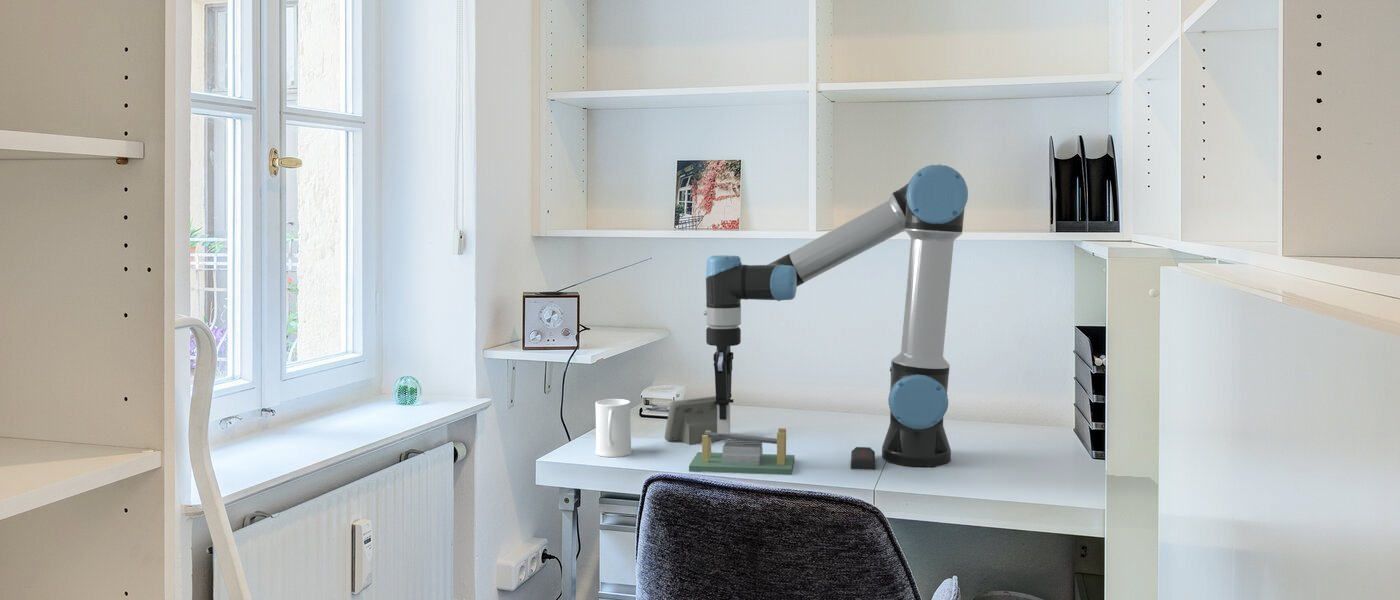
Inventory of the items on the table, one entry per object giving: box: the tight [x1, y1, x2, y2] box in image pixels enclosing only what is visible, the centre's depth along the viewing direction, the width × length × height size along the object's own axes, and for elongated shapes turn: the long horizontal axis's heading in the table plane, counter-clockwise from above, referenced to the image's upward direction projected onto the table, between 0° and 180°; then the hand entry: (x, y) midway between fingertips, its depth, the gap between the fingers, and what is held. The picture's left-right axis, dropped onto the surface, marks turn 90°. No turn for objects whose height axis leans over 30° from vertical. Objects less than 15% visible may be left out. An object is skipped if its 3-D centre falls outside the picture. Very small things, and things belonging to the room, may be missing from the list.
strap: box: [704, 432, 777, 445], centre depth 207 cm, size 18×3×1 cm, turn 81°
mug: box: [594, 398, 633, 458], centre depth 218 cm, size 12×8×12 cm
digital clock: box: [664, 395, 721, 445], centre depth 232 cm, size 16×9×11 cm, turn 108°
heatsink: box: [722, 439, 764, 466], centre depth 207 cm, size 8×8×4 cm
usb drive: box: [850, 446, 876, 471], centre depth 210 cm, size 5×12×3 cm, turn 170°
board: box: [688, 427, 796, 476], centre depth 207 cm, size 22×12×8 cm, turn 81°
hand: (723, 432), depth 208 cm, fingers closed
